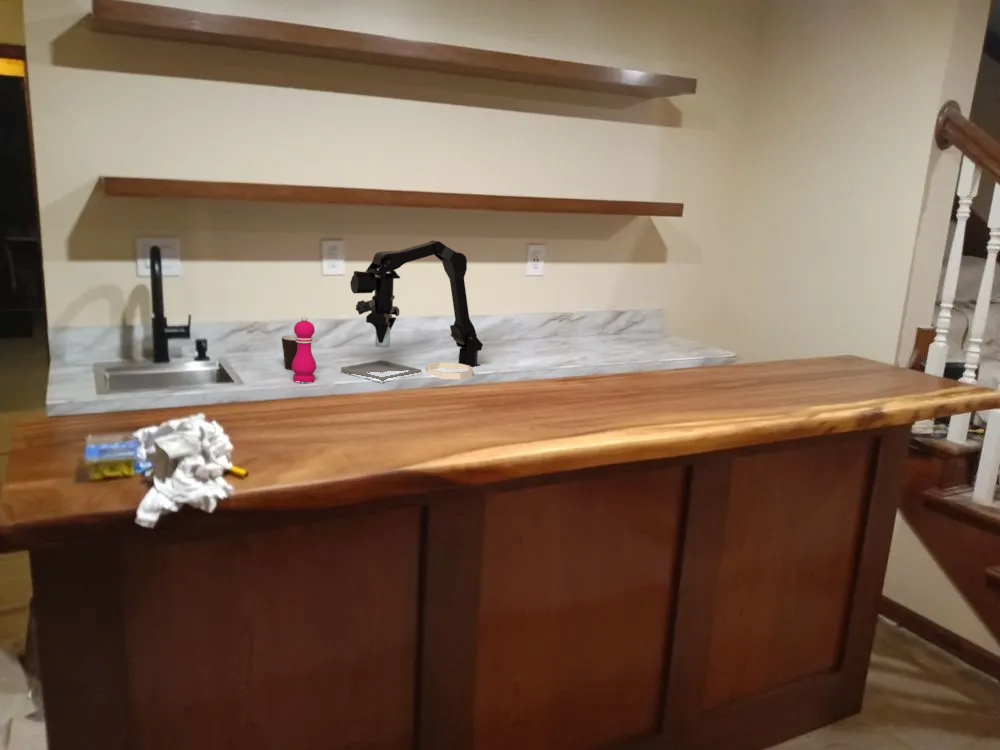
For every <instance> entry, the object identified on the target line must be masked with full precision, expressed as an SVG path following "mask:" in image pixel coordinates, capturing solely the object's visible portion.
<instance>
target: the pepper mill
mask: <svg viewBox="0 0 1000 750" xmlns="http://www.w3.org/2000/svg"><path fill="white" fill-rule="evenodd" d="M315 330H316V329H315V325H314V324H313V323H312V322H310V321H308V317H307V316H306V315H302V316H301V319H300V321H298V322H296V323H295V325H294V327H293V331H294V335H297V337H296V342H297V353H296V356H295V358H294V360H293V362H292V370H291V371H293V373H294V374H292V375H293V376H292V377H293V379H292V381H293V380H294V381H300V382H312V381H314V382H315V381H316V380H315V374H314V373H315V371H316V370H317V363H316V360H315V358H314V356H313V352H312V343H313V342H314V341H313V339H314V337H313V335H314V334H315ZM294 381H293V382H294ZM312 383H313V382H312Z"/></svg>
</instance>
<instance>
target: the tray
mask: <svg viewBox="0 0 1000 750" xmlns="http://www.w3.org/2000/svg"><path fill="white" fill-rule="evenodd" d="M340 369H341V370H340V373H342V372H344V373H343V374H345V373H349V374H356V375H361V376H366V377H372V378H376V379H379V380H381V381H384V380H386V379H388V378H393V377H397V376H404V375H409V374H414V373H419V372H421V373H422V369H421V368H416V367H412V366H408V365H404V364H400V363H395V362H392V361H388V360H384V359H378V360H372V361H367V362H363V363H357V364H351V365H348V366H342V367H341V368H340ZM404 370H405V371H406V370H409V371H408V372H404V373H399V374H395V375H390V376H385V377H379V376H375V375H371V374H368V373H370V372H380V373H381V372H382V373H383V372H385V371H386V372H387V371H404ZM367 372H368V373H367ZM349 374H348V375H349Z"/></svg>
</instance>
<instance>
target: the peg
mask: <svg viewBox="0 0 1000 750" xmlns="http://www.w3.org/2000/svg"><path fill="white" fill-rule="evenodd" d="M390 345H391V331H390V327H388V330H387V332H386V335H385V338H384V340H383V342H382V343H379V341H378V337H377V333H376V332H375V347H377V348H390Z"/></svg>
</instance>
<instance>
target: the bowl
mask: <svg viewBox="0 0 1000 750" xmlns="http://www.w3.org/2000/svg"><path fill="white" fill-rule="evenodd" d="M425 368H426V369H425V371H427V372H426V374H427V373H428V374H431V375H434V376H436V377H437V379H440V380H465V379H468V378H472V377H473V372H474V371H473V367H472V368H471V366H469V365H465V364H460V363H459V362H453V361H451V362H449V361H448V362H447V361H437V362H432V363H427V364H426V367H425ZM438 368H445V369H446V368H447V369H449V368H450V369H452V368H453V369H462V370H467V371H463V372H441V371H437V370H433V369H438ZM436 377H435V378H436Z"/></svg>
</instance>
